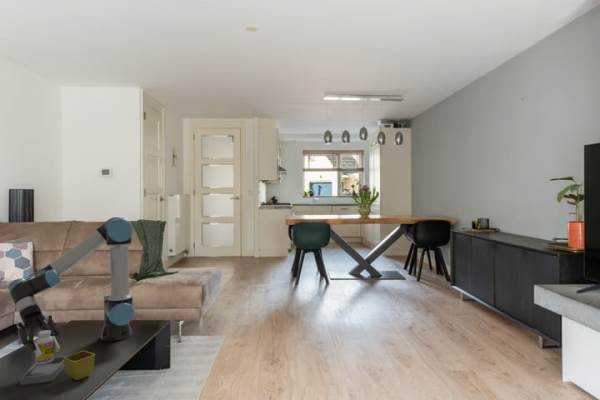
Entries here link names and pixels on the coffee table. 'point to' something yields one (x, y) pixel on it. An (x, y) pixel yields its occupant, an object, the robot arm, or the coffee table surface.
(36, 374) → the tray
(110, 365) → the coffee table surface
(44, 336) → the supplement bottle
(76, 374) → the flower pot
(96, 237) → the robot arm
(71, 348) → the coffee table surface
